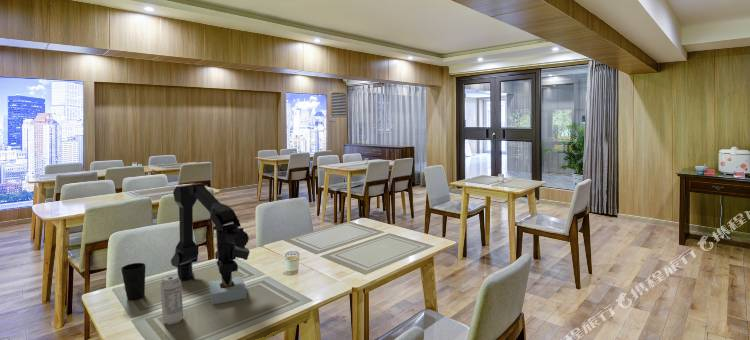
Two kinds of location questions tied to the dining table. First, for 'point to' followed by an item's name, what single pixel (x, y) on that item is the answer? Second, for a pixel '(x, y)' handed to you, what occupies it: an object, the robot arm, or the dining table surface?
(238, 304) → the dining table surface
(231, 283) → the dowel
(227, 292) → the socket
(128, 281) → the cup
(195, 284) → the dining table surface
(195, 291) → the dining table surface
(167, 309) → the energy drink can
